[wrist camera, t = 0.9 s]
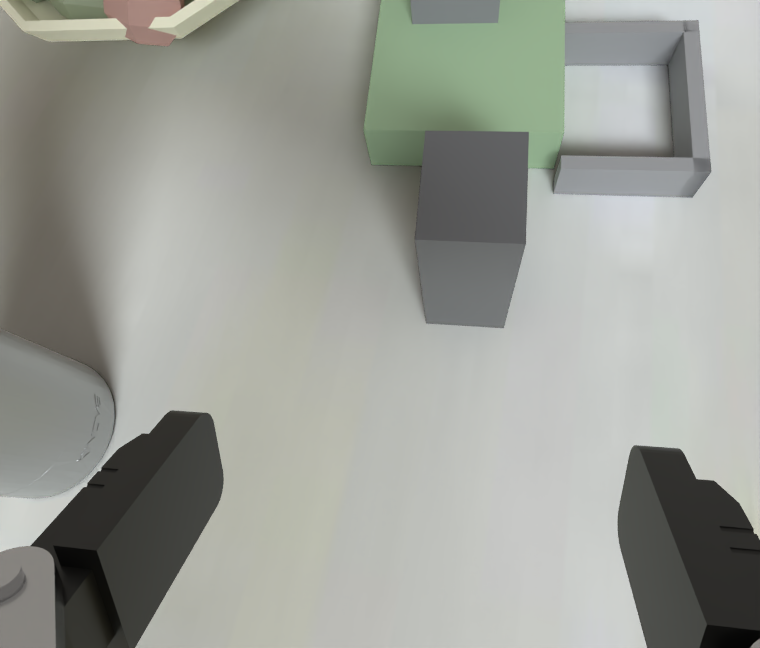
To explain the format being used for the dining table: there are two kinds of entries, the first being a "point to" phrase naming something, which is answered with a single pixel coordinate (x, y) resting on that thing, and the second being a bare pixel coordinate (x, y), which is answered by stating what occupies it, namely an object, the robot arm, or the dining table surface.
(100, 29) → the dish with food
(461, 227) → the tall grey cuboid
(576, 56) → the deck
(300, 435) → the dining table surface
